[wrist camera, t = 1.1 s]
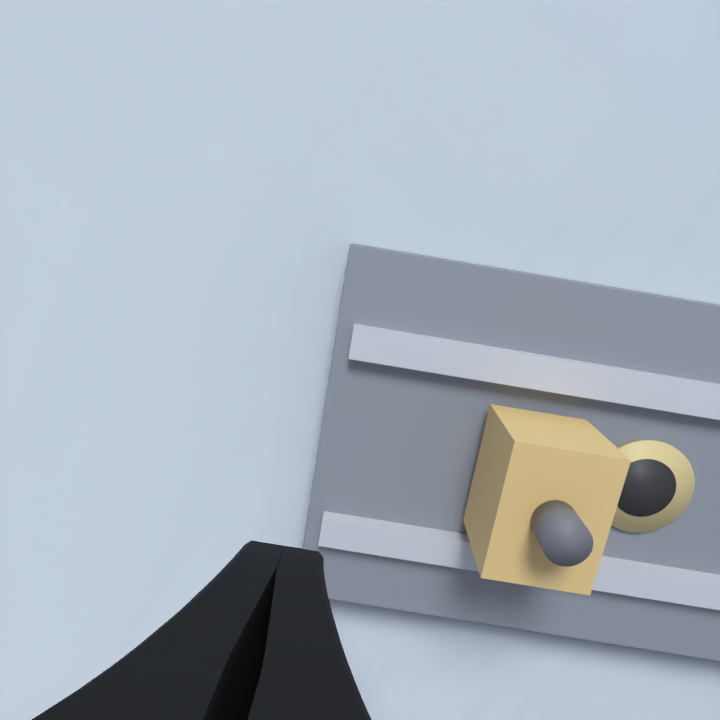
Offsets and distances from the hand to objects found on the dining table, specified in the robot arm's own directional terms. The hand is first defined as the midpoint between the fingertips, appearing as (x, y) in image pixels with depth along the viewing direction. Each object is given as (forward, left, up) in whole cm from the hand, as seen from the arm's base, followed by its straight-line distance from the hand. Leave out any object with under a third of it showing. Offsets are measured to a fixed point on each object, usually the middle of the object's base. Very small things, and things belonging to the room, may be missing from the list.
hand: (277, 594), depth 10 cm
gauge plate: (-9, 0, -9) cm, 13 cm away
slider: (-6, 0, -7) cm, 10 cm away
